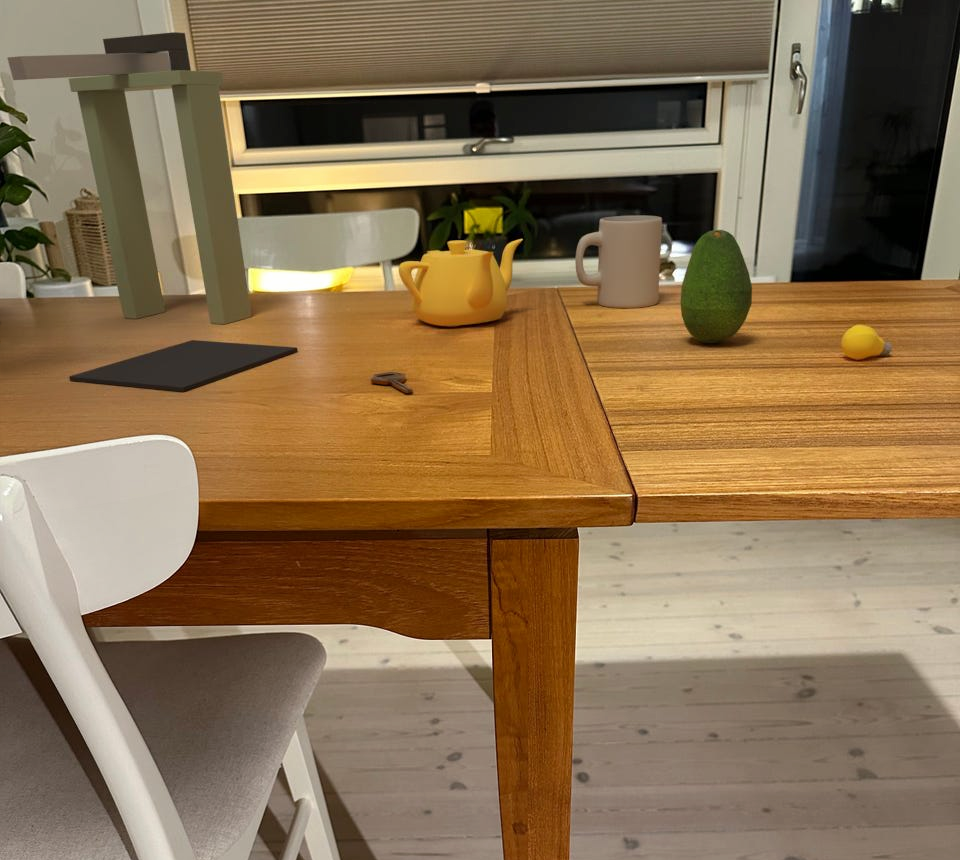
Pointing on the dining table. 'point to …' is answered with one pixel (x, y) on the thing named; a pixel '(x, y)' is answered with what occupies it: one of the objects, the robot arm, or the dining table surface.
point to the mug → (624, 261)
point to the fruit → (715, 288)
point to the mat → (184, 365)
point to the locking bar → (87, 65)
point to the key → (392, 380)
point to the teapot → (459, 284)
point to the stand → (203, 173)
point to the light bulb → (864, 343)
